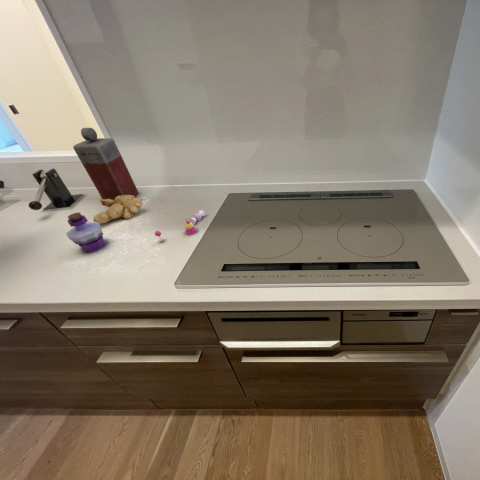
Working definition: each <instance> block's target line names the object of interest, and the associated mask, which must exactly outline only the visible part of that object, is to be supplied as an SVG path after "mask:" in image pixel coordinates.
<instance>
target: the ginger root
mask: <svg viewBox="0 0 480 480" xmlns="http://www.w3.org/2000/svg"><path fill="white" fill-rule="evenodd" d="M99 202H100V204H101V205H102V206H104V207H107V208H108V210H105V211H102V212H99V213H97V214H96V215H94V216H93V221H92V222H98V223H99V224H107V223H108V222H110V221H113V220H116V219H119V218H123V219H128V220H129V219H131V218H132V217H133V216H134V214H136V213H138V212H139V210H140V209H141V207H142V206H143V200H142V199H141V198H139V197H135V196H132V195H120V196H117V197H116V198H115V200H111V199H102V198H101V199H100V200H99Z"/></svg>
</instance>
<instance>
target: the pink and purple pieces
mask: <svg viewBox="0 0 480 480" xmlns="http://www.w3.org/2000/svg"><path fill="white" fill-rule="evenodd" d="M203 217H206V212H205V211H204V210H202V209H199V210H198V212H197V213H194V214H193V215H192V217H189V218H188V220H185V224H184V229H185V232H186V234H187V235H194V234H195V233H197V230H196V227H195V225H196V222H200V221H201V220H202V218H203ZM161 235H162V232H161V231H160V230H156V231H154V236H156V237H158V238H159V240H160V242H163V240H162V238H161Z"/></svg>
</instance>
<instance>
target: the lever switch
mask: <svg viewBox="0 0 480 480" xmlns="http://www.w3.org/2000/svg"><path fill="white" fill-rule="evenodd" d="M42 171H44V170H43V169H38V170H37V171H35V172H34V173H32V174H31V176H33V178H34V179H35V181H36V182H37V183H38V185H39V186H40V184H41V181H42V178H41V177H40V174H41V172H42ZM46 171H47V172H46V173H45V174H46V176H47V177H48V179H49V180H50V181H48V182H47V184H46V187H45V190H44V192H43V193H45V195H46V196H47V198H48V199H49V201H50V203H49V204H48V205H46V206H45V207H44V208H42V211H47V210H56V209H57V210H58V209H65V208H66V209H67V208H70V207H72V206H73V205H74V204H75V203H76V202H77V201H78V200H79V199H80V198H81V197H82V196H84V194H83V193H80V194H71V191H70V190H69V189H68V187H67V186H66V184H65V182H64V180H63V179H62V178H61V176H60V174H59V173H58V171H57V170H56V169H55V168H50V169H49V170H46Z"/></svg>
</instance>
